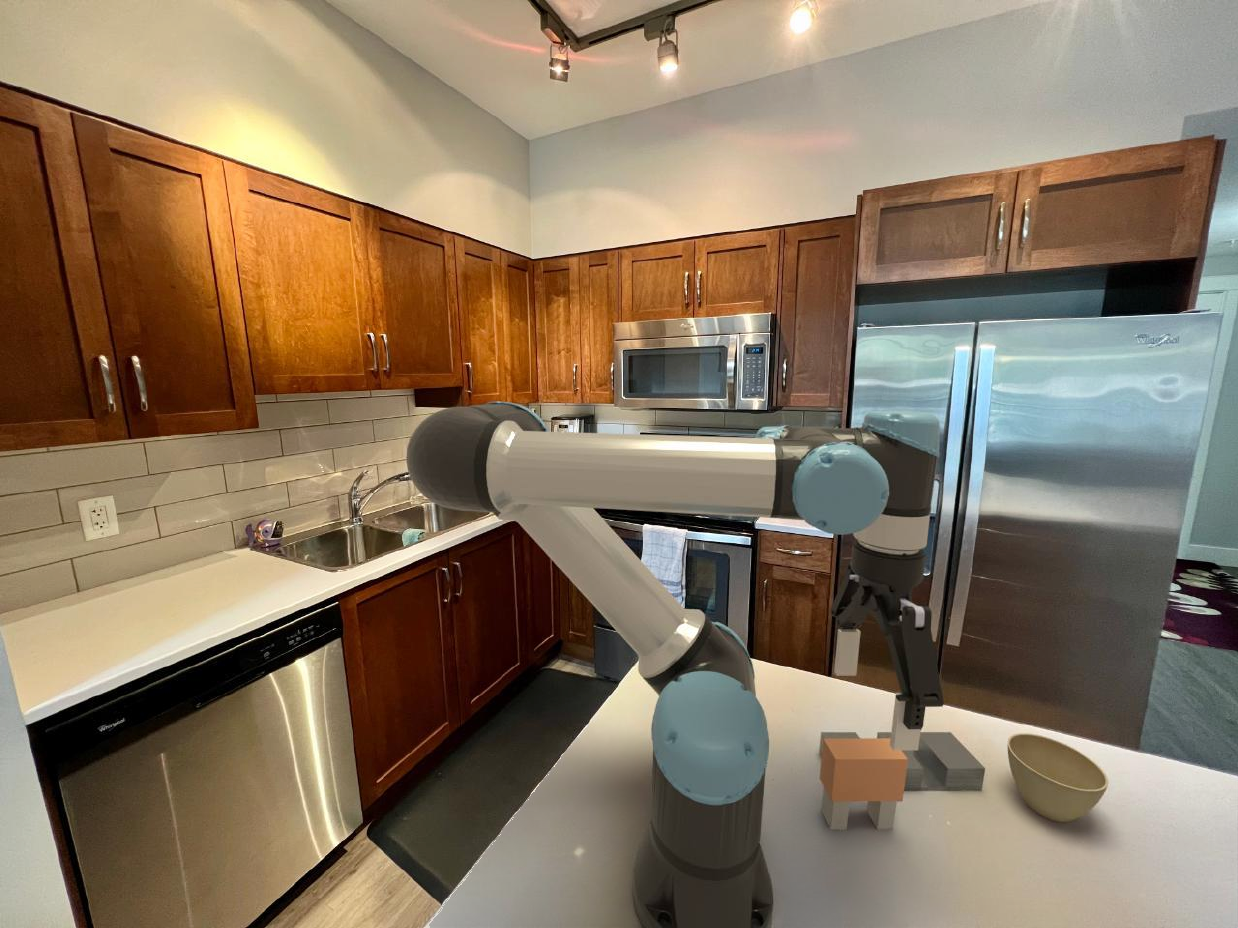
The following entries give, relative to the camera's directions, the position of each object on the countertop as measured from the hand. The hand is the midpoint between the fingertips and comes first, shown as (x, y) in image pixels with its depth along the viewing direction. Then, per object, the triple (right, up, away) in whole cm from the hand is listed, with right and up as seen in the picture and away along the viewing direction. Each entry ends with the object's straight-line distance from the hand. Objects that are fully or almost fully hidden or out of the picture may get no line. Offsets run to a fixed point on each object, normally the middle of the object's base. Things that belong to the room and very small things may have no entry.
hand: (871, 707), depth 60 cm
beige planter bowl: (+27, -16, +5) cm, 32 cm away
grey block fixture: (+9, -15, +11) cm, 21 cm away
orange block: (0, -16, +3) cm, 16 cm away
